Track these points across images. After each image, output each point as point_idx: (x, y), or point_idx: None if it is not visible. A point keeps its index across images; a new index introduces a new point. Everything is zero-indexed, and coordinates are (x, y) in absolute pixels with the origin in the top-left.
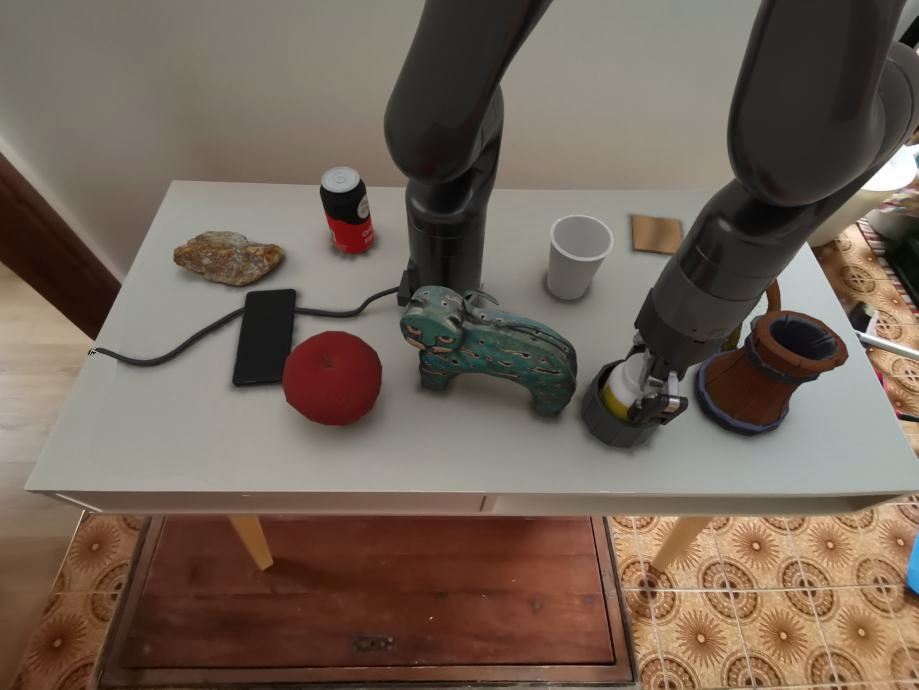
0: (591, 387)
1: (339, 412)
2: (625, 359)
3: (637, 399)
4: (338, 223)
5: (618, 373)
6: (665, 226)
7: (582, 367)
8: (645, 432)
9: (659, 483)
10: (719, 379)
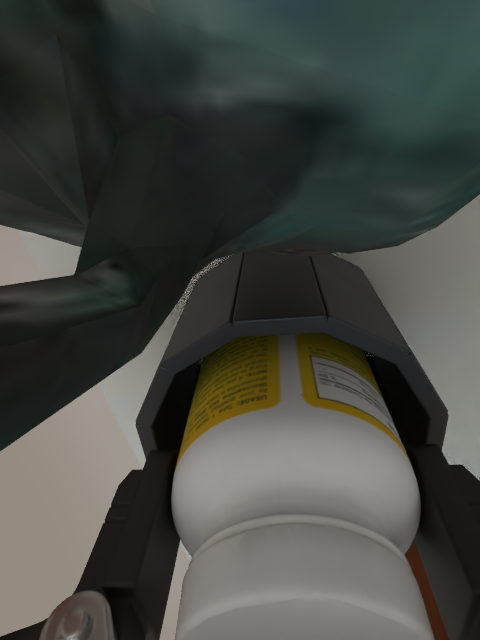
0: (297, 297)
1: None
2: (435, 456)
3: (97, 621)
4: None
5: (317, 472)
6: None
7: (444, 231)
8: None
9: (128, 429)
10: None
